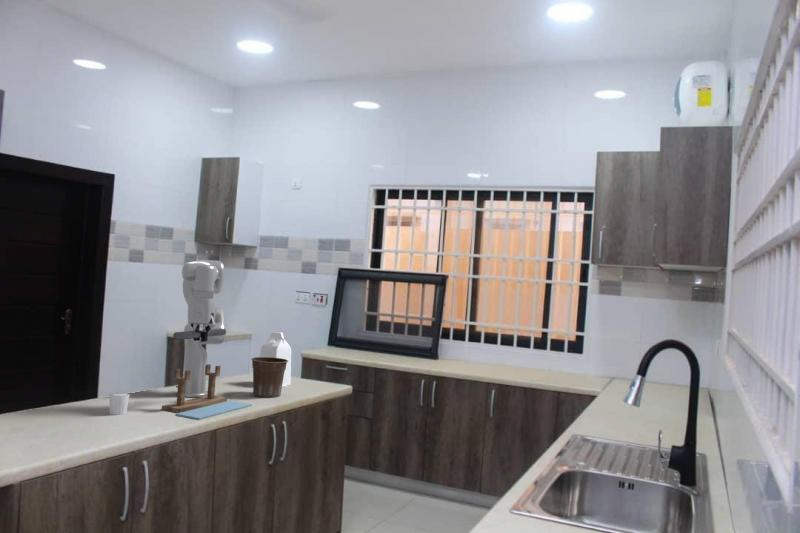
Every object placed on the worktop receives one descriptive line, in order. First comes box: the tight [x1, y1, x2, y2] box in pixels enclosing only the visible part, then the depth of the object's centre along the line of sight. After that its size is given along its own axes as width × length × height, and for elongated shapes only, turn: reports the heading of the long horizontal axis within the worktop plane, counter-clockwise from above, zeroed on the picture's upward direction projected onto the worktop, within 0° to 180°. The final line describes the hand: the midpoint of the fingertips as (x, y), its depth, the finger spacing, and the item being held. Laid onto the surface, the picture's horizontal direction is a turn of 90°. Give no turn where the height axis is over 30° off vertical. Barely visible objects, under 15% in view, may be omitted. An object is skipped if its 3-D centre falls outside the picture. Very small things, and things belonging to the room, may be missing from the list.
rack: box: [161, 363, 228, 413], centre depth 254 cm, size 9×28×15 cm, turn 158°
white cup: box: [108, 392, 130, 416], centre depth 233 cm, size 7×7×7 cm
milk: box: [259, 331, 292, 387], centre depth 311 cm, size 12×12×26 cm
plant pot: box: [251, 356, 288, 398], centre depth 285 cm, size 16×16×16 cm
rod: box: [172, 328, 227, 341], centre depth 255 cm, size 28×3×3 cm, turn 158°
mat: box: [175, 400, 253, 420], centre depth 248 cm, size 11×32×1 cm, turn 158°
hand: (200, 340), depth 254 cm, fingers closed on rod, 3 cm apart
